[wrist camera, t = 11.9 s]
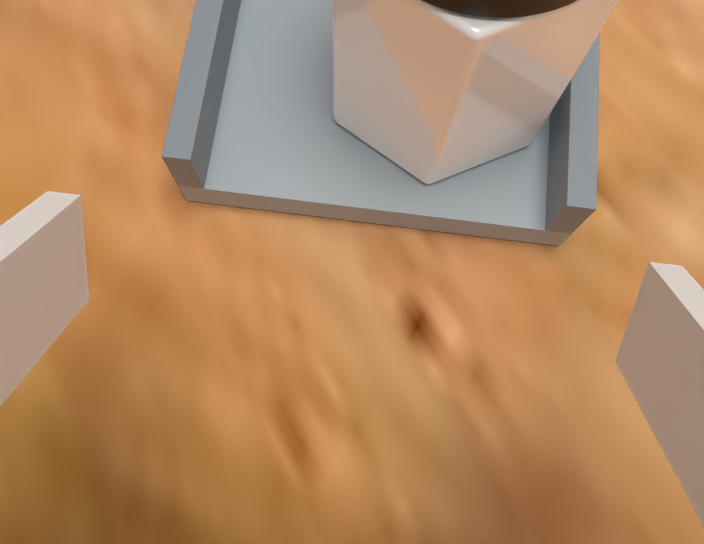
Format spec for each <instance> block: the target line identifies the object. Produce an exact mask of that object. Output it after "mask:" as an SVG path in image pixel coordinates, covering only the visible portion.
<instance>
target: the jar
mask: <svg viewBox="0 0 704 544" xmlns="http://www.w3.org/2000/svg"><path fill="white" fill-rule="evenodd" d="M618 2H619V0H332V17H333V118H334V120H335V121H336V123H338V124H339V125H341V126H342V127H344V128H345V129H347V130H348V131H349V132H351V133H352V134H354V135H355V136H357V137H358V138H360V139H361V140H362V141H364V142H365V143H367V144H368V145H370V146H371V147H373V148H374V149H375V150H377V151H378V152H380V153H381V154H383V155H384V156H386V157H387V158H389V159H390V160H391V161H393V162H394V163H396V164H397V165H399V166H400V167H402V168H403V169H404V170H406V171H407V172H409V173H410V174H412V175H413V176H415V177H416V178H418V179H419V180H420V181H422V182H423V183H425V184H432V183H434V182H437V181H440V180H442V179H445V178H447V177H450V176H452V175H455V174H457V173H460V172H463V171H465V170H468V169H470V168H473V167H475V166H478V165H481V164H483V163H486V162H488V161H491V160H493V159H496V158H498V157H501V156H504V155H506V154H509V153H511V152H514V151H516V150H519V149H521V148H524V147H527V146H529V145H530V144H532V142H533V141H534V139H535V138H536V136H537V134H538V133H539V131H540V129H541V128H542V126H543V125H544V123H545V121H546V120H547V118H548V116H549V115H550V113H551V111H552V110H553V108H554V107H555V105H556V103H557V102H558V100H559V98H560V97H561V95H562V93H563V92H564V90H565V89H566V87H567V85H568V84H569V82H570V80H571V79H572V77H573V76H574V74H575V72H576V71H577V69H578V67H579V66H580V64H581V62H582V61H583V59H584V58H585V56H586V54H587V53H588V51H589V49H590V48H591V46H592V45H593V43H594V41H595V40H596V38H597V36H598V35H599V33H600V31H601V30H602V28H603V27H604V25H605V23H606V22H607V20H608V18H609V17H610V15H611V13H612V12H613V10H614V9H615V7H616V5H617V4H618Z"/></svg>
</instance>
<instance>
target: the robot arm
mask: <svg viewBox="0 0 704 544" xmlns="http://www.w3.org/2000/svg"><path fill="white" fill-rule="evenodd" d="M88 301H89V290H88V278H87V265H86V253H85V240H84V228H83V215H82V203H81V195H76V194H68V193H59V192H51V191H47V192H46V193H44V194H43V195H42V196H40V197H39V198H38V199H36V200H35V201H34V202H32V203H31V204H30V205H28V206H27V207H25V208H24V209H23V210H21V211H20V212H19V213H17V214H16V215H15V216H13V217H12V218H11V219H9V220H8V221H6V222H5V223H4V224H2V225H1V226H0V406H1V405H2V404H3V403H4V402H5V400H6V399H7V398H8V397H9V396H10V394H11V393H12V392H13V391H14V390H15V388H16V387H17V386H18V385H19V384H20V382H21V381H22V380H23V379H24V378H25V376H26V375H27V374H28V373H29V372H30V370H31V369H32V368H33V367H34V366H35V364H36V363H37V362H38V361H39V360H40V358H41V357H42V356H43V355H44V354H45V352H46V351H47V350H48V349H49V347H50V346H51V345H52V344H53V343H54V341H55V340H56V339H57V338H58V337H59V335H60V334H61V333H62V332H63V331H64V329H65V328H66V327H67V326H68V325H69V323H70V322H71V321H72V320H73V319H74V317H75V316H76V315H77V314H78V313H79V311H80V310H81V309H82V308H83V307H84V305H85V304H86V303H87V302H88ZM615 362H616V364H617V366H618V367H619V369H620V371H621V373H622V375H623V377H624V379H625V380H626V382H627V384H628V386H629V388H630V390H631V392H632V394H633V395H634V397H635V399H636V401H637V403H638V405H639V407H640V409H641V410H642V412H643V414H644V416H645V418H646V420H647V422H648V424H649V425H650V427H651V429H652V431H653V433H654V435H655V437H656V439H657V440H658V442H659V444H660V446H661V448H662V450H663V452H664V454H665V455H666V457H667V459H668V461H669V463H670V465H671V467H672V468H673V470H674V472H675V474H676V476H677V478H678V480H679V482H680V483H681V485H682V487H683V489H684V491H685V493H686V495H687V497H688V498H689V500H690V502H691V504H692V506H693V508H694V510H695V512H696V513H697V515H698V517H699V519H700V521H701V523H702V525H703V527H704V290H703V289H702V287H701V286H700V285H699V284H698V283H697V282H696V281H695V280H694V279H693V277H692V276H691V275H690V274H689V273H688V272H687V271H686V270H685V268H684V267H683V266H679V265H671V264H662V263H654V262H649V264H648V267H647V270H646V273H645V276H644V278H643V281H642V284H641V287H640V290H639V293H638V296H637V299H636V302H635V305H634V308H633V311H632V314H631V317H630V320H629V323H628V326H627V329H626V331H625V334H624V337H623V340H622V343H621V346H620V349H619V352H618V355H617V358H616V361H615Z"/></svg>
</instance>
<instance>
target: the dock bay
mask: <svg viewBox="0 0 704 544" xmlns="http://www.w3.org/2000/svg"><path fill="white" fill-rule="evenodd" d="M599 44H600V33H599V35H598V36H597V38H596V40H595V41H594V43H593V45H592V46H591V48H590V49H589V51H588V53H587V54H586V56H585V58H584V59H583V61H582V62H581V64H580V66H579V67H578V69H577V71H576V72H575V74H574V76H573V77H572V79H571V80H570V82H569V84H568V85H567V87H566V89H565V90H564V92H563V93H562V95H561V97H560V98H559V100H558V102H557V103H556V105H555V107H554V108H553V110H552V111H551V113H550V115H549V116H548V118H547V120H546V121H545V123H544V125H543V126H542V128H541V129H540V131H539V133H538V134H537V136H536V138H535V139H534V141H533V142H532V144H530V145H529V146H527V147H524V148H521V149H519V150H516V151H514V152H511V153H509V154H506V155H504V156H501V157H498V158H496V159H493V160H491V161H488V162H486V163H483V164H481V165H478V166H475V167H473V168H470V169H468V170H465V171H463V172H460V173H457V174H455V175H452V176H450V177H447V178H445V179H442V180H440V181H437V182H434V183H432V184H425V183H423V182H422V181H420V180H419V179H418V178H416V177H415V176H413V175H412V174H410V173H409V172H407V171H406V170H404V169H403V168H402V167H400V166H399V165H397V164H396V163H394V162H393V161H391V160H390V159H389V158H387V157H386V156H384V155H383V154H381V153H380V152H378V151H377V150H375V149H374V148H373V147H371V146H370V145H368V144H367V143H365V142H364V141H362V140H361V139H360V138H358V137H357V136H355V135H354V134H352V133H351V132H349V131H348V130H347V129H345V128H344V127H342V126H341V125H339V124H338V123H336V121H335V120H334V118H333V17H332V0H196V2H195V7H194V12H193V16H192V21H191V25H190V30H189V34H188V39H187V43H186V48H185V53H184V57H183V62H182V66H181V71H180V75H179V80H178V84H177V89H176V93H175V98H174V103H173V107H172V112H171V116H170V121H169V125H168V130H167V134H166V139H165V143H164V148H163V153H162V158H163V160H164V161H165V163H166V165H167V167H168V169H169V170H170V172H171V174H172V176H173V178H174V179H175V181H176V183H177V185H178V187H179V188H180V190H181V192H182V194H183V195H184V197H185V199H186V201H194V202H202V203H210V204H219V205H227V206H235V207H243V208H251V209H259V210H268V211H276V212H284V213H292V214H300V215H308V216H317V217H325V218H333V219H341V220H349V221H357V222H366V223H374V224H382V225H390V226H398V227H406V228H415V229H423V230H431V231H439V232H447V233H455V234H464V235H472V236H480V237H488V238H496V239H504V240H513V241H521V242H529V243H537V244H545V245H553V246H559V245H560V244H561V243H562V242H563V241H564V240H565V239H566V238H567V237H568V236H569V235H570V234H572V233H573V232H574V231H575V230H576V229H577V228H578V227H579V226H580V225H581V224H582V223H583V222H584V221H585V220H586V219H587V218H588V217H589V216H590V215H591V214H592V213H593V212H594V211H595V210H596V196H597V145H598V95H599Z"/></svg>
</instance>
